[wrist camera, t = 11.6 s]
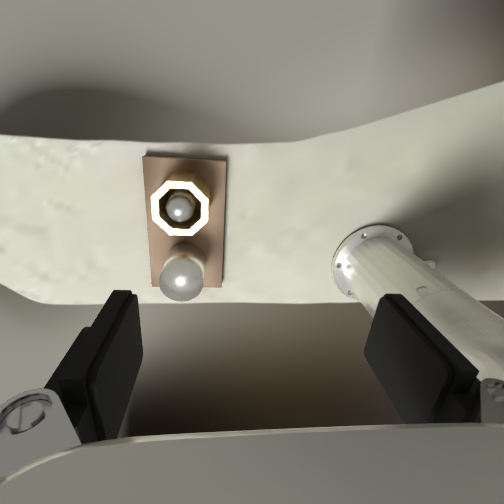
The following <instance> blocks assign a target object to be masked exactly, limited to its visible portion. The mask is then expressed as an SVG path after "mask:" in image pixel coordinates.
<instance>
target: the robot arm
mask: <svg viewBox="0 0 504 504" xmlns="http://www.w3.org/2000/svg"><path fill="white" fill-rule="evenodd" d="M362 234H363V235H362ZM361 235H362V236H361ZM435 266H436V264H435V262H434V261H430V260H424V261H423V260H422V259H420V258H419V257H417V256H416V255H415V254H414V251H413V247H412V244H411V242H410V241H409V239H408V238H407V237H406V236H405V235H404V234H403V233H402V232H400V231H399V230H397V229H395V228H393V227H389V226H385V225H375V226H369V227H366V228H363V229H360V230H359V231H357V232H355V233H353V234H352V235H350V236H349V237H348V238H347V239H346V240H345V241H344V242H343V243H342V244H341V245H340V247H339V248H338V249H337V251H336V253H335V255H334V258H333V262H332V277H333V280H334V282H335V284H336V285H337V287H338V289H339V290H340V291H341V292H342V293H343V294H345V295H346V296H348V297H350V298H353V299H356V300H360V301H361V302H362V304H363V305H364V306H365V308H366V309H367V310H368V312H369V313H370V314H371V316H372V317H373V318H374V319H373V322H372V325H371V329H370V332H369V335H368V339H367V342H366V346H365V349H364V354H365V358H366V359H367V361H368V363H369V365H370V366H371V368H372V370H373V371H374V373H375V375H376V376H377V378H378V380H379V381H380V383H381V385H382V386H383V388H384V390H385V392H386V393H387V395H388V397H389V398H390V400H391V402H392V403H393V405H394V407H395V408H396V410H397V412H398V413H399V415H400V417H401V419H402V420H403V422H404V423H405V424H399V425H373V426H372V425H371V426H344V427H319V428H298V429H297V428H295V429H274V430H273V429H272V430H251V431H231V432H230V431H229V432H209V433H190V434H189V433H188V434H172V435H157V436H141V437H129V438H121V439H117V436H118V433H119V430H120V427H121V424H122V421H123V418H124V415H125V412H126V408H127V406H128V403H129V400H130V396H131V393H132V390H133V387H134V384H135V381H136V378H137V375H138V372H139V368H140V366H141V362H142V358H143V347H142V337H141V327H140V317H139V307H138V298H137V295H136V294H132V292H131V290H114V291H113V292H112V293H111V295H110V297H109V298H108V300H107V301H106V303H105V305H104V306H103V308H102V309H101V311H100V313H99V314H98V316H97V318H96V319H95V321H94V322H93V324H92V326H91V327H85V328H83V329H82V331H81V332H80V333H79V335H78V337H77V338H76V340H75V341H74V343H73V344H72V346H71V347H70V349H69V350H68V352H67V353H66V355H65V356H64V358H63V360H62V361H61V362H60V364H59V366H58V367H57V369H56V370H55V372H54V373H53V375H52V377H51V378H50V379H49V381H48V383H47V384H46V386H45V387H44V389H42V388H38V389H33V390H28V391H25V392H23V393H20V394H18V395H16V396H14V397H12V398H10V399H9V400H7V401H6V402H5V403H3V404H2V405H1V406H0V504H504V319H503V318H502V317H500V316H499V315H497V314H496V313H494V312H492V311H491V310H490V309H488V308H487V307H485V306H484V305H483V304H481V303H480V302H478V301H477V300H476V299H474V298H473V297H471V296H470V295H468V294H467V293H466V292H464V291H463V290H462V289H460V288H459V287H457V286H456V285H455V284H453V283H452V282H451V281H449V280H448V279H446V278H445V277H444V276H442V275H441V274H440V273H438V272H437V271H435V270H434V269H435Z"/></svg>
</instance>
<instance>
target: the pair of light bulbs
mask: <svg viewBox="0 0 504 504" xmlns="http://www.w3.org/2000/svg"><path fill="white" fill-rule="evenodd" d="M196 202H197V197H196V196H195V195H194V194H193V193H192V192H191V191H190V190H189V189H181V188H176V189H175V190H174V192H173V194H172V195H171V197H170V198H169V200H168V202H167V204H166V211H167V214H168V215H169V217H170V218H171V219H173V220H174V221H178V222H183V221H186V220H188V219H189V218H190V217H191V216H192V214H193V212H194V209H195V205H196ZM205 261H206V259H205V254H204V252H203V251H202V249H201V248H200V247H199V246H197V245H195V244H193V243H189V242H183V243H179V244H177V245H175V246H174V247H172V248H171V250H170V251H169V254H168V256H167V259H166V261H165V264H164V267H163V269H162V272H161V274H160V277H159V286H160V289H161V291H162V292H163V293H164V295H166V296H167V297H168V298H170V299H172V300H175V301H188V300H191V299H193V298H195V297H196V296H197V295H198V294H199V293H200V292H201V290H202V287H203V279H204V270H205Z"/></svg>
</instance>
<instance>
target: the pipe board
mask: <svg viewBox="0 0 504 504" xmlns="http://www.w3.org/2000/svg"><path fill="white" fill-rule="evenodd" d="M142 160H143V173H144V187H145V200H146V213H147V226H148V239H149V253H150V266H151V279H152V287H160V286H159V277H160V274H161V272H162V269H163V267H164V264H165V261H166V259H167V256H168V254H169V251H170V250H171V248H172V247H174V246H175V245H177V244H179V243H183V242H189V243H193V244H195V245H197V246H199V247H200V248H201V249H202V251H203V252H204V254H205V259H206V261H205V270H204V279H203V287H220V288H222V264H223V237H224V209H225V182H226V160H212V159H196V158H180V157H165V156H149V155H145V156H143V157H142ZM175 171H178V172H196V173H197V174H198V175H199V176H200V177H201V178H202V180H203V181H204V182H205V183H206V184H207V185H208V186H209V187H210V210H209V218H208V222H206V223H205V224H204V225H203V226H202V227H201V228H200V229H199V230H197V231H196V232H195V233H194V234H193V235H192V236H191V235H169V234H168V233H167V232H166V231H165V230H164V229H163V228H162V227H161V226H160V225H159V224H157V223H156V222H155V221H154V220H153V219H152V203H151V196H152V195H153V194H154V192H155V191H156V190H157V189H158V188H159V187H160V186H161V184H163V183H164V182H165V181H166V180H167V179H168V178H169V177H170V176H171V175H172V174H173V173H174V172H175ZM175 189H176V188H170V189H169V190H168V191H167V192H168V200H169V198H170V197H171V195H172V194H173V192H174V190H175ZM201 207H202V202H201V201H200V200H199V199H198V198H197V202H196V205H195V209H194V212H193V214H194V213H195V212H196V211H197V210H198V209H199V208H201Z"/></svg>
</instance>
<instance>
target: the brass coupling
mask: <svg viewBox="0 0 504 504" xmlns="http://www.w3.org/2000/svg"><path fill="white" fill-rule="evenodd" d="M170 188H181V189H189V190H190V191H191V192H192V193H193V194H194V195H195V196H196V197H197V198H198V199H199V200H200V201H201V202H202V207H201V208H199V209H198V210H197V211H196V212H195V213H194V214H192V216H191V217H190V218H189V219H188V220H186V221H183V222H178V221H174V220H173V219H171V218H170V217H169V215H168V214H167V211H166V204H167V202H168V192H167V191H168V190H169V189H170ZM151 203H152V219H153V220H154V221H155V222H156V223H157V224H159V225H160V226H161V227H162V228H163V229H164V230H165V231H166V232H167V233H168V234H169V235H191V236H192V235H193V234H194V233H195V232H196V231H197V230H199V229H200V228H201V227H202V226H203V225H204V224H205V223H206V222H208V218H209V210H210V187H209V186H208V185H207V184H206V183H205V182H204V181H203V180H202V178H201V177H200V176H199V175H198V174H197V173H196V172H178V171H175V172H174V173H173V174H172V175H171V176H170V177H169V178H168V179H167V180H166V181H165V182H164V183H163V184H161V186H160V187H159V188H158V189H157V190H156V191H155V192H154V194H153V195H152V196H151Z"/></svg>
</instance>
